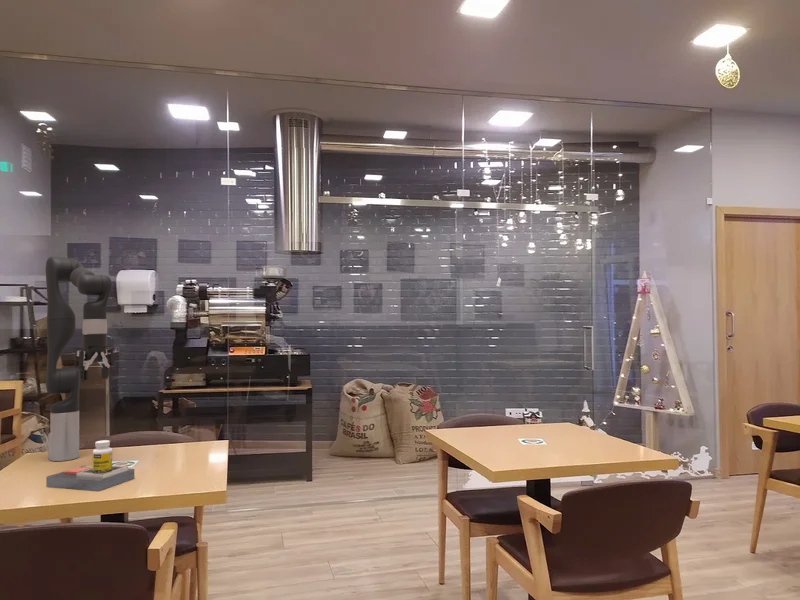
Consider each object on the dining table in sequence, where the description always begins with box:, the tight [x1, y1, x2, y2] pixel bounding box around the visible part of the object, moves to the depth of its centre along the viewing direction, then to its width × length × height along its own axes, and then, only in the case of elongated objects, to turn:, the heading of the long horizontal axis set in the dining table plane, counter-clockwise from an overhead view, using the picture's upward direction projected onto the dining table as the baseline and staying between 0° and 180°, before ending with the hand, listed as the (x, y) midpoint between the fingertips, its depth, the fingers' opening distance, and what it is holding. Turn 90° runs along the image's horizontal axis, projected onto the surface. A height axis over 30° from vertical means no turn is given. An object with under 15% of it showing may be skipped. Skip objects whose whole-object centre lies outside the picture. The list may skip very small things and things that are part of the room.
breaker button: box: [63, 466, 90, 475], centre depth 178 cm, size 5×5×4 cm
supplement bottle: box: [92, 439, 113, 474], centre depth 175 cm, size 5×5×10 cm
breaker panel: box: [45, 464, 135, 492], centre depth 176 cm, size 20×14×4 cm
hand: (94, 380), depth 195 cm, fingers open, 8 cm apart
